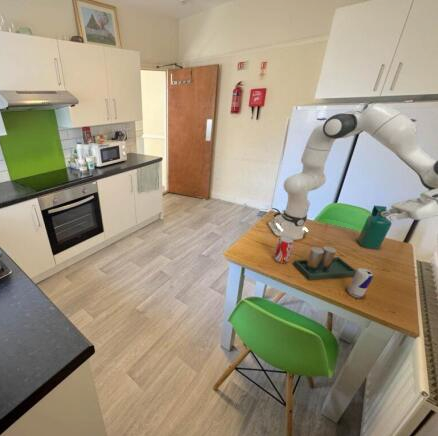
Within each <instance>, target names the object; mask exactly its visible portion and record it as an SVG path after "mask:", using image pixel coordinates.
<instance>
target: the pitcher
mask: <svg viewBox="0 0 438 436" xmlns="http://www.w3.org/2000/svg"><path fill="white" fill-rule="evenodd" d="M387 210H388V209H387V206H383V205H373V208H372V210H371V214H370V215H369V216H367V217H366V220H365V223H364V225H363V227H362V229H361V232H360V234H359V235H358V238H357V242H358V244H359V245H360V247H362V248H366V249H372V250H379V249H380V248H381V246H382V245H383V242H384V240H385V239H386V236H387V234H388V233H389V231H390V229H391V227H392V220H390V218H389V217H387V216H386V217H383V216H382V215H381V213H382V212H385V211H387Z"/></svg>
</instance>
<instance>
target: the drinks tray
mask: <svg viewBox="0 0 438 436" xmlns="http://www.w3.org/2000/svg"><path fill="white" fill-rule="evenodd" d="M307 259H308V258H307ZM307 259H306V258H305V259H296V260H294V261H293V266H294V267H295V268H296V269H298V271H299V272H300V273H301V274H302V275H303V276H304V277H305V278H306V279H307V280H308V281H311V280H324V279H335V278H347V277H348V278H349V277H354V275H355V273H356V271H357V270H356V269H355V268H354V267H352V265H350V264H349V263H347V262H346V261H344V260H343V259H342V258H340V257H339V256H336V257H335V256H334V258H333V261H332V263H331V265H330V268H329V270H328V272H326V273H325V272H320V271H318V270H317V272H316V273H309V272H308V271H307V270H306V269H305V265H306V262H307Z"/></svg>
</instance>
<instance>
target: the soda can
mask: <svg viewBox="0 0 438 436" xmlns="http://www.w3.org/2000/svg"><path fill="white" fill-rule="evenodd" d="M294 245H295V240H293V239H292V238H291V237H288V236H279V238H278V240H277V243H276V247H275V251H274V254H273V259H274V261H276V262H278V263H280V264H287V263H288V262H289V261H290V258H291V255H292V253H293V252H292V251H293V249H294Z"/></svg>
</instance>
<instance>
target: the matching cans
mask: <svg viewBox="0 0 438 436" xmlns="http://www.w3.org/2000/svg"><path fill="white" fill-rule="evenodd" d="M336 253H337V249H336V248H334V247H333V246H328V245H326V246H323V247H322V248H320V247H318V246H312V247H311V249H310V251H309V254H308V257H307V262H306V265H305V269H306V270H307V271H308V272H309V273H316V272H317V270H318V271H320V272H325V273H326V272H328V270H329V268H330V265H331V263H332V261H333V258H334V257H335V256H336Z"/></svg>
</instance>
